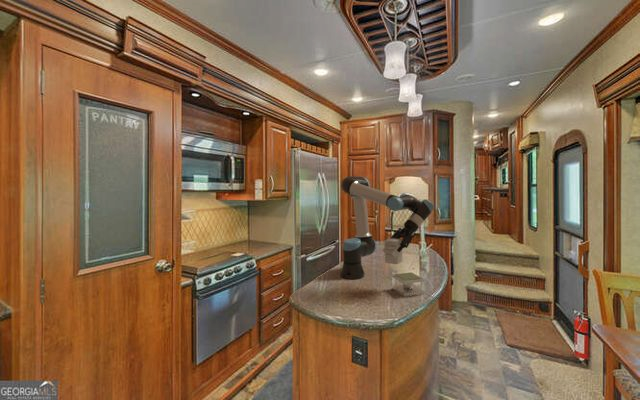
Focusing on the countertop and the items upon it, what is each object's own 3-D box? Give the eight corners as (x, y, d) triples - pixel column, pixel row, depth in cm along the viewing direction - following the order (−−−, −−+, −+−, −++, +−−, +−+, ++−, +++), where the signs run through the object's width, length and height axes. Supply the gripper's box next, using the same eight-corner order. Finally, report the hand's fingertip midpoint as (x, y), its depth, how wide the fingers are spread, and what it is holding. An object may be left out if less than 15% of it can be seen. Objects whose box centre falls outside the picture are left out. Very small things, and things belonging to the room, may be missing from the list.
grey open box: (404, 296, 139) (404, 280, 139) (392, 288, 151) (392, 273, 150) (424, 294, 142) (424, 278, 142) (411, 286, 154) (411, 271, 153)
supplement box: (390, 259, 154) (389, 237, 154) (403, 261, 149) (402, 238, 149) (384, 262, 149) (383, 239, 148) (397, 264, 144) (396, 241, 143)
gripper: (430, 230, 141) (404, 263, 138) (406, 225, 163) (383, 253, 160) (421, 220, 140) (394, 253, 137) (398, 217, 162) (375, 245, 158)
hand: (388, 253), depth 148 cm, fingers closed on supplement box, 10 cm apart
